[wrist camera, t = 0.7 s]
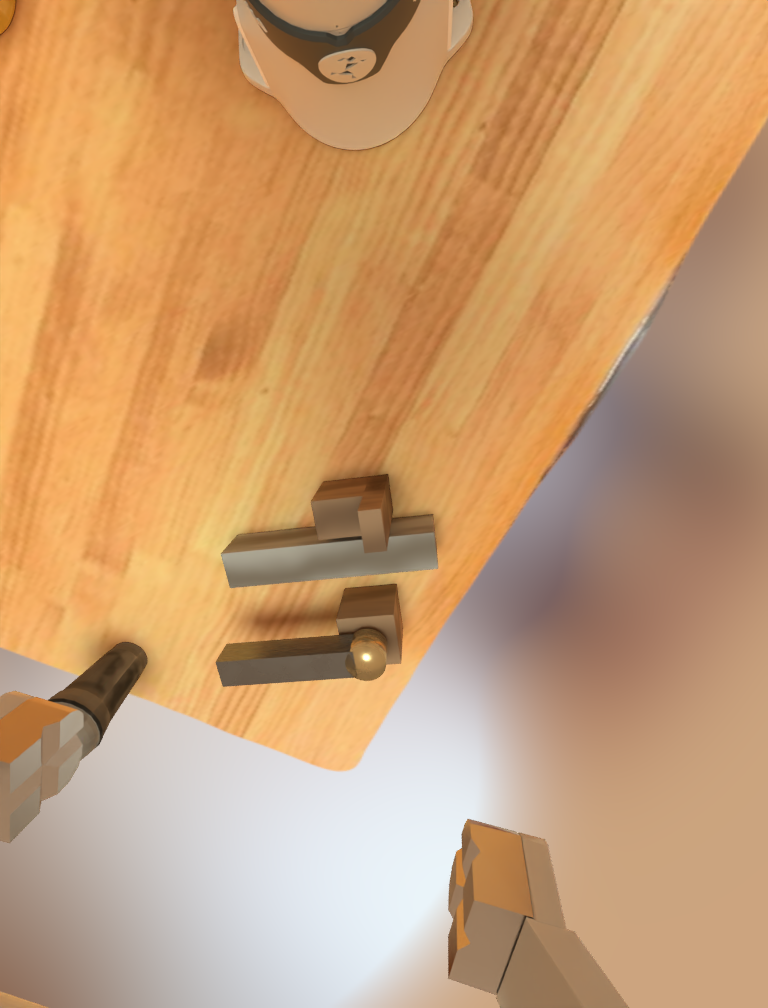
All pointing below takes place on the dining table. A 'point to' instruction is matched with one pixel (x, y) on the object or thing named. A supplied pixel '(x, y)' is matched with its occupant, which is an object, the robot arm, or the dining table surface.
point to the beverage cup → (102, 691)
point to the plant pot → (6, 13)
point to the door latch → (343, 553)
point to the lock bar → (304, 659)
